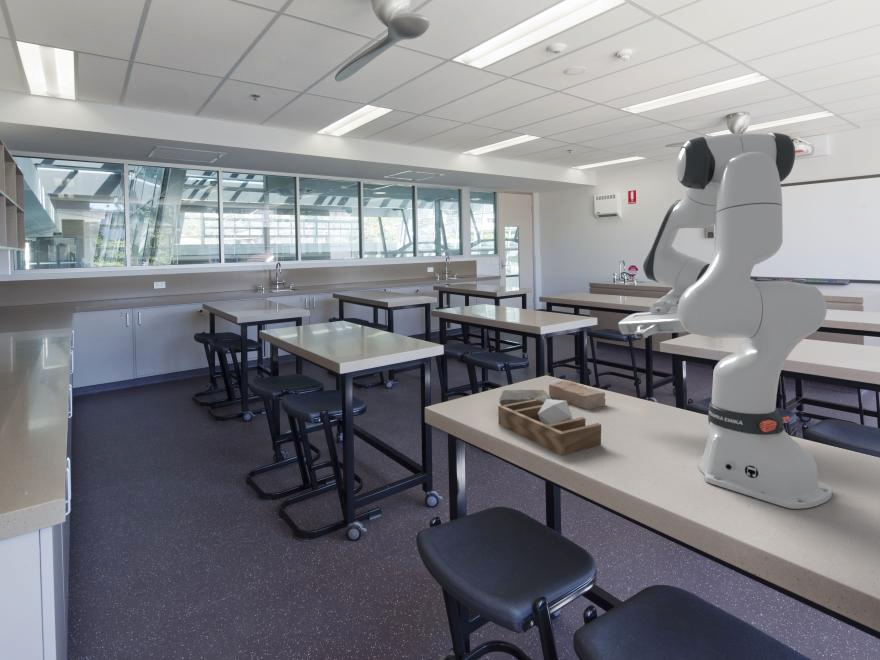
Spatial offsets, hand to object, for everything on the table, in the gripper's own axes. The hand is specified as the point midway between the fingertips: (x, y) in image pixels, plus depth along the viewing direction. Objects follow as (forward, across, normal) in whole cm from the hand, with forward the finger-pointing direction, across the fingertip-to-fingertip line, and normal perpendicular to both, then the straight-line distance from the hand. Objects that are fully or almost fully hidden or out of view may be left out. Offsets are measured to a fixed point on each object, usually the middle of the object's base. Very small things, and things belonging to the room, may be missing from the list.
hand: (639, 335), depth 136 cm
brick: (+6, -25, +19) cm, 32 cm away
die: (+29, -11, +13) cm, 34 cm away
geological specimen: (+23, -27, +12) cm, 38 cm away
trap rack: (+32, -10, +11) cm, 36 cm away
